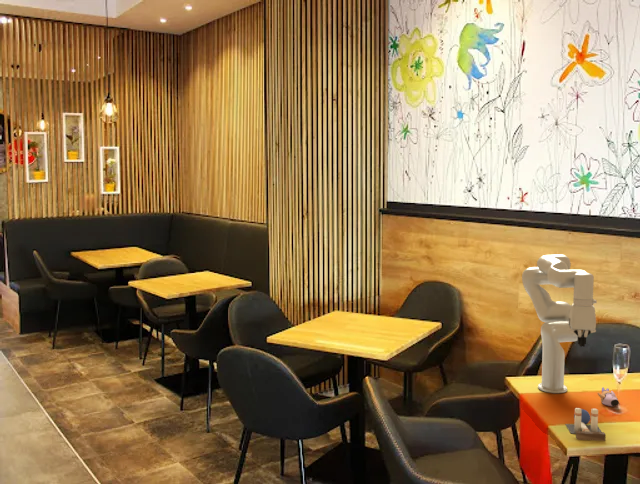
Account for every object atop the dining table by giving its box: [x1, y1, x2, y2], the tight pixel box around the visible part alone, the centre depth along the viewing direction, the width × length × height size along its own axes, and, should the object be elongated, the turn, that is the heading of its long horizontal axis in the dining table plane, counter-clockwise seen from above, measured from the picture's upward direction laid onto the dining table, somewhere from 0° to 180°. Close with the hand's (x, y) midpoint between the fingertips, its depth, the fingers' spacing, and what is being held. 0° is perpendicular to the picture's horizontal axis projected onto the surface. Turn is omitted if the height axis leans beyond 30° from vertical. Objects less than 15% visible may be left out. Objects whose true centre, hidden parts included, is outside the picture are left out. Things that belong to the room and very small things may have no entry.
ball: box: [573, 408, 591, 425], centre depth 256 cm, size 6×6×6 cm
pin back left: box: [590, 408, 599, 432], centre depth 248 cm, size 2×2×9 cm
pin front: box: [581, 422, 590, 432], centre depth 249 cm, size 2×2×9 cm
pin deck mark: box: [564, 423, 603, 435], centre depth 252 cm, size 9×12×1 cm
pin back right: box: [573, 407, 583, 432], centre depth 249 cm, size 2×2×9 cm
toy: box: [597, 387, 620, 407], centre depth 278 cm, size 9×6×15 cm
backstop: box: [575, 431, 607, 442], centre depth 243 cm, size 2×10×2 cm, turn 82°
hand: (581, 345), depth 271 cm, fingers closed
